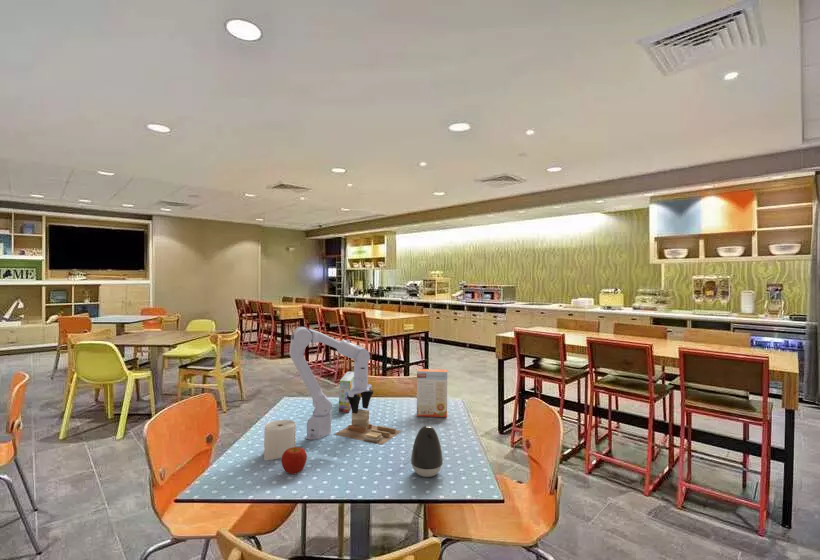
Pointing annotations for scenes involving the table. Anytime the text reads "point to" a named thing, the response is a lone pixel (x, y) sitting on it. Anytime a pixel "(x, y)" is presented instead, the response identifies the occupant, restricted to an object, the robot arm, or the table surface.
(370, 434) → the oak offcut
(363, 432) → the rack
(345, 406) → the snack box
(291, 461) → the apple
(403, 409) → the table surface
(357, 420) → the birch board
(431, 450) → the dark grey egg shape
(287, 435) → the toilet tissue
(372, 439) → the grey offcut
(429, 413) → the cracker box
